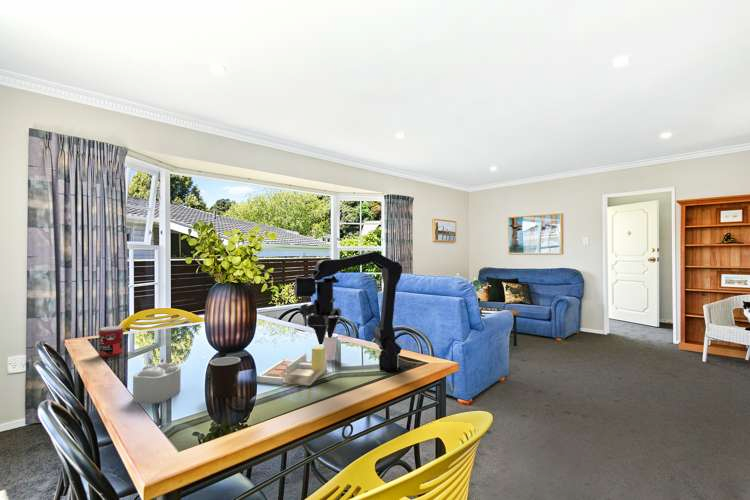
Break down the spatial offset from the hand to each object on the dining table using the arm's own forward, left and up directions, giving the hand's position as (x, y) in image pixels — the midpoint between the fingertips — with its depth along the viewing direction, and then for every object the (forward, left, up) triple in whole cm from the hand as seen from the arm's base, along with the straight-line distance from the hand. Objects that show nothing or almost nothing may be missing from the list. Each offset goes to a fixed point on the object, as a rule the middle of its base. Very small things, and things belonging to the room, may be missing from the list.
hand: (325, 340), depth 126 cm
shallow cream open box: (+6, +2, -12) cm, 14 cm away
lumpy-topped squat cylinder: (+43, +27, -12) cm, 52 cm away
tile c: (+15, +7, -10) cm, 19 cm away
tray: (+15, +2, -12) cm, 19 cm away
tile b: (+15, +2, -10) cm, 18 cm away
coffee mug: (+24, +21, -12) cm, 34 cm away
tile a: (+15, -3, -10) cm, 18 cm away
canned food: (+95, -4, -12) cm, 95 cm away
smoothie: (+5, -18, -12) cm, 22 cm away
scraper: (+5, +2, -9) cm, 11 cm away
